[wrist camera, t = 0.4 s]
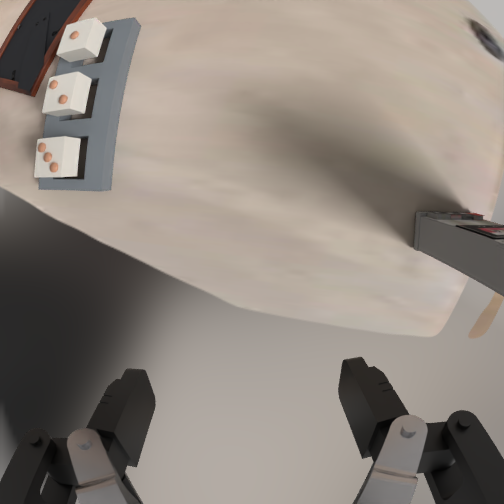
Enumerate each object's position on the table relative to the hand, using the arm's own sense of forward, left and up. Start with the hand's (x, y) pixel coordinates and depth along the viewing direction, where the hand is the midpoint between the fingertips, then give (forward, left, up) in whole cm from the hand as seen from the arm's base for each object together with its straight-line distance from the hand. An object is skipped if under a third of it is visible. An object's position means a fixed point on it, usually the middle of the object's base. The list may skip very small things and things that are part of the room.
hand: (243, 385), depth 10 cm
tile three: (-9, -25, -25) cm, 36 cm away
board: (-18, -25, -28) cm, 42 cm away
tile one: (-26, -25, -25) cm, 44 cm away
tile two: (-18, -25, -25) cm, 39 cm away
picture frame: (-36, -43, -29) cm, 63 cm away
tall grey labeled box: (-6, +33, -29) cm, 44 cm away
